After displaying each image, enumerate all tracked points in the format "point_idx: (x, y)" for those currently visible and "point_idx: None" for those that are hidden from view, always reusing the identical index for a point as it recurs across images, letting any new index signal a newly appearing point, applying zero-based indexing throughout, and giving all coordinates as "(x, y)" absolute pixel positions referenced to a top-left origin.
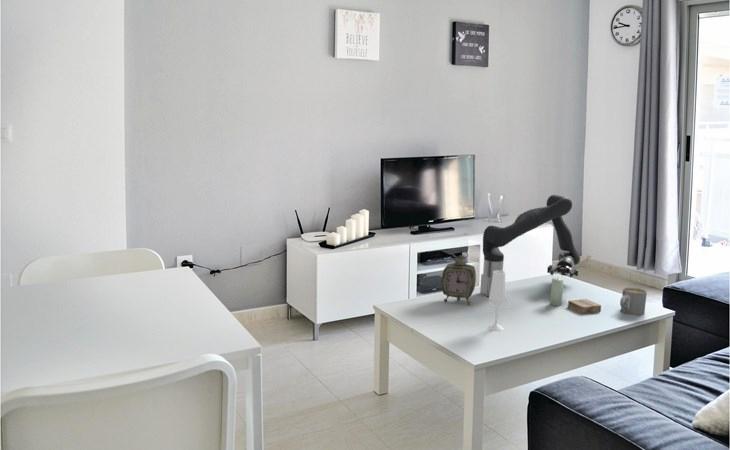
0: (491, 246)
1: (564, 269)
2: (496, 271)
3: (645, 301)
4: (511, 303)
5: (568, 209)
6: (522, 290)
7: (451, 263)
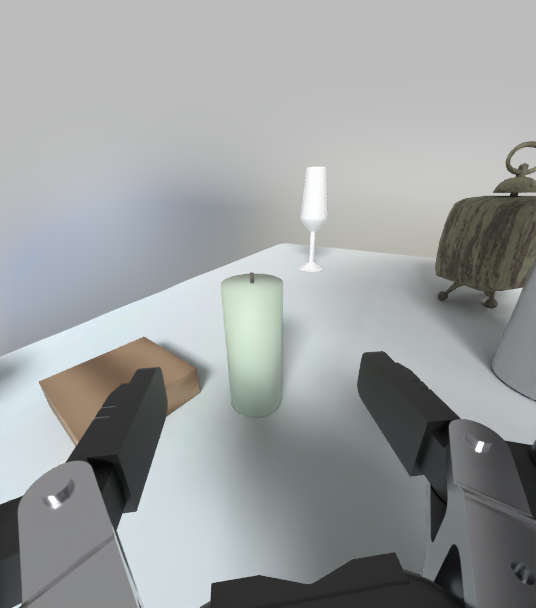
0: None
1: (262, 579)
2: (324, 169)
3: None
4: (389, 340)
5: None
6: None
7: None
